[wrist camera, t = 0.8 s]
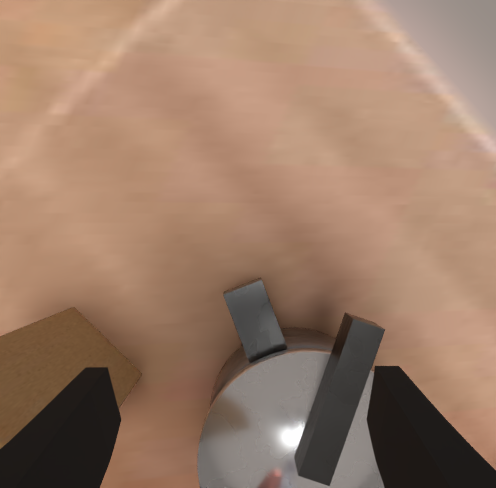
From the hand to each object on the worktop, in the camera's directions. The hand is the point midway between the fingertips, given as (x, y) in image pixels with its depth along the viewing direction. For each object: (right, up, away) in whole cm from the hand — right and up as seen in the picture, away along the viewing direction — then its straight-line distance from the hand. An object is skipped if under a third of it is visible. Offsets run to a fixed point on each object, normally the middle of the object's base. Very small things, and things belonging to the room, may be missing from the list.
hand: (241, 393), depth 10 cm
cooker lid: (+5, -9, +15) cm, 18 cm away
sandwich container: (-17, -9, +21) cm, 29 cm away
